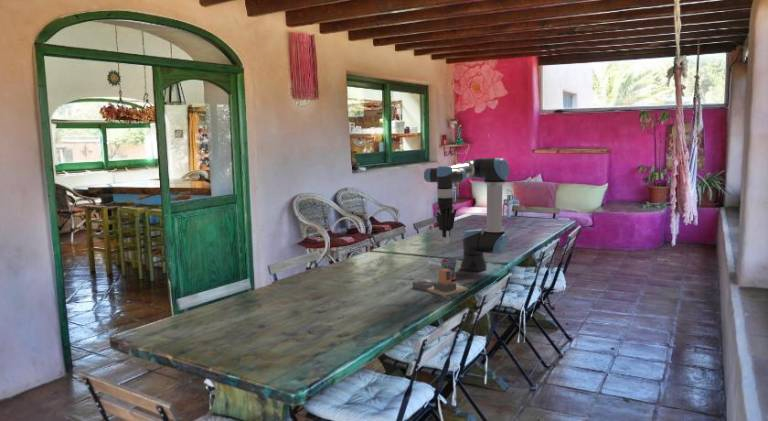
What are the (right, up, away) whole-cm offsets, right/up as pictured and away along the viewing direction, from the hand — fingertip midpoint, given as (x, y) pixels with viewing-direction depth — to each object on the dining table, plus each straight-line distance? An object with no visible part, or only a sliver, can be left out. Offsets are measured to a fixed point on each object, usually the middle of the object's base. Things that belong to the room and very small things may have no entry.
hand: (446, 243), depth 289 cm
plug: (-1, -23, +1) cm, 23 cm away
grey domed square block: (-9, -24, +11) cm, 28 cm away
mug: (+5, -21, +26) cm, 34 cm away
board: (0, -24, +4) cm, 25 cm away
